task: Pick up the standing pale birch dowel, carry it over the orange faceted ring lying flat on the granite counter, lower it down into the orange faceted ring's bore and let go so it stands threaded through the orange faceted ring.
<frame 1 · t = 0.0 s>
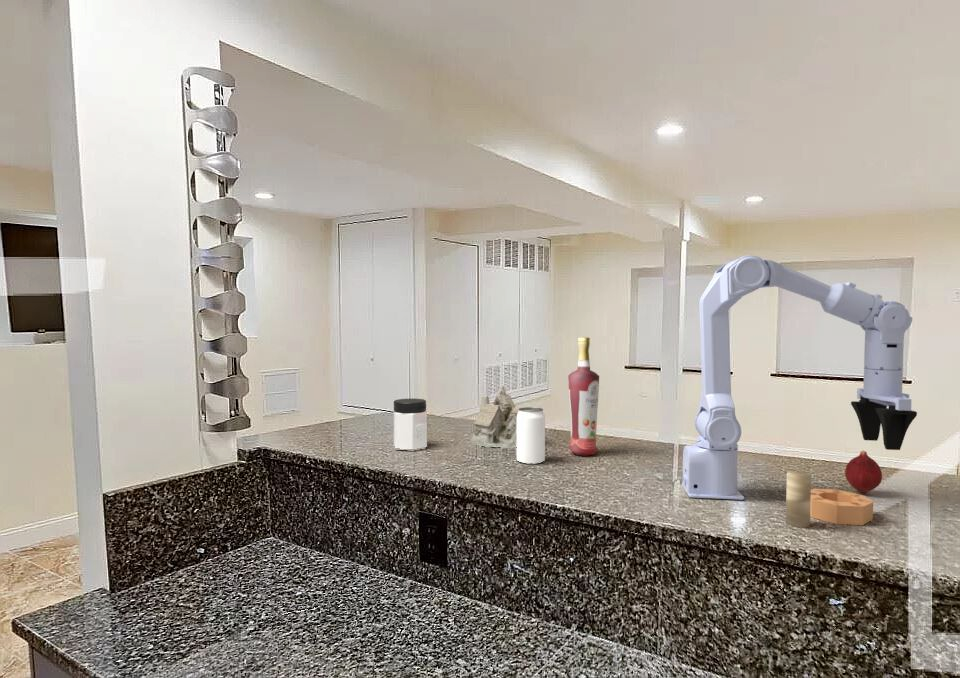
hand: (881, 444, 105), 10 cm above the counter, tool pointing down, fingers open, 7 cm apart
jar: (410, 448, 148), on the counter
dowel: (797, 524, 94), on the counter
ceramic cottage: (504, 444, 153), on the counter
orange faceted ring: (836, 515, 98), on the counter
onion: (862, 494, 110), on the counter
liquor: (583, 454, 141), on the counter
can: (530, 462, 134), on the counter
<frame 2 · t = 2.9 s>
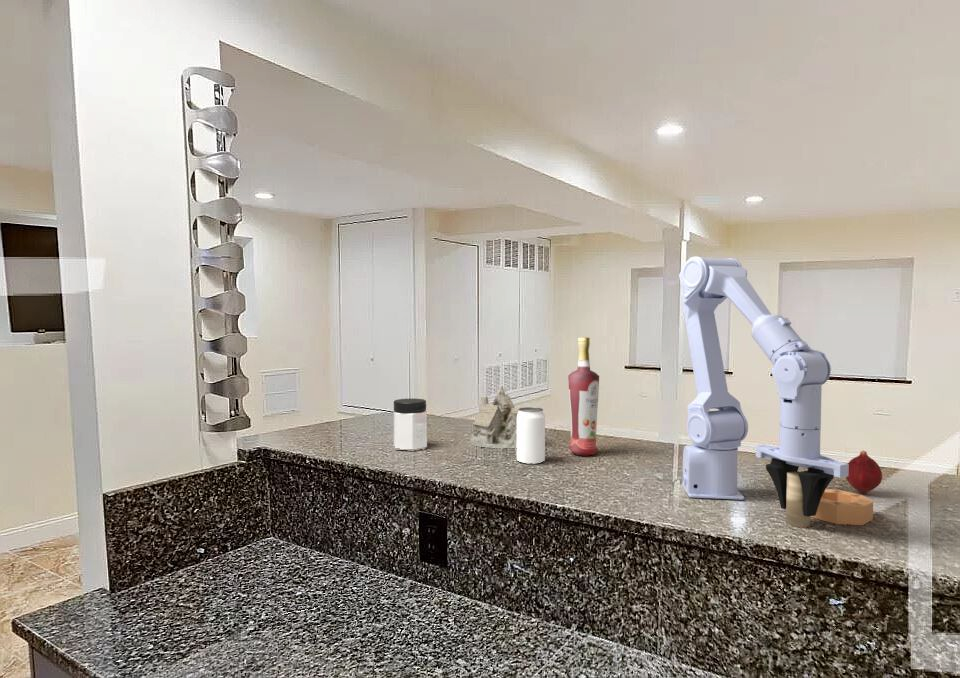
hand: (798, 511, 94), 2 cm above the counter, tool pointing down, fingers closed on dowel, 3 cm apart
dowel: (797, 524, 94), on the counter, touching gripper
when the fingers open (4 cm above the counter, at t = 6.1 s): dowel drops 1 cm, resting in orange faceted ring.
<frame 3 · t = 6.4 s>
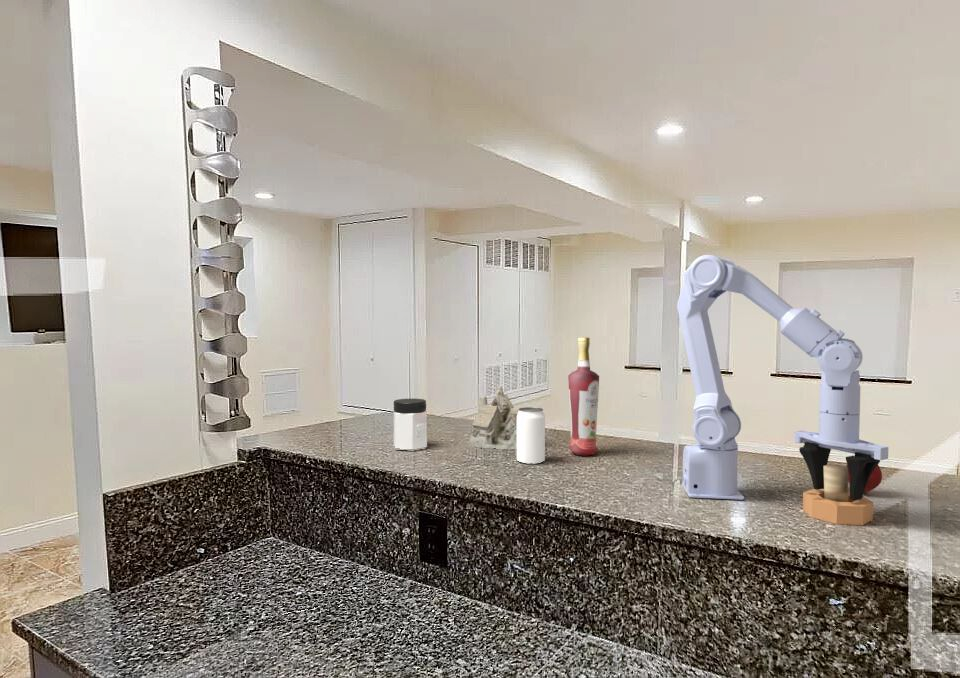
hand: (837, 493, 98), 4 cm above the counter, tool pointing down, fingers open, 6 cm apart
dowel: (836, 514, 98), resting in orange faceted ring
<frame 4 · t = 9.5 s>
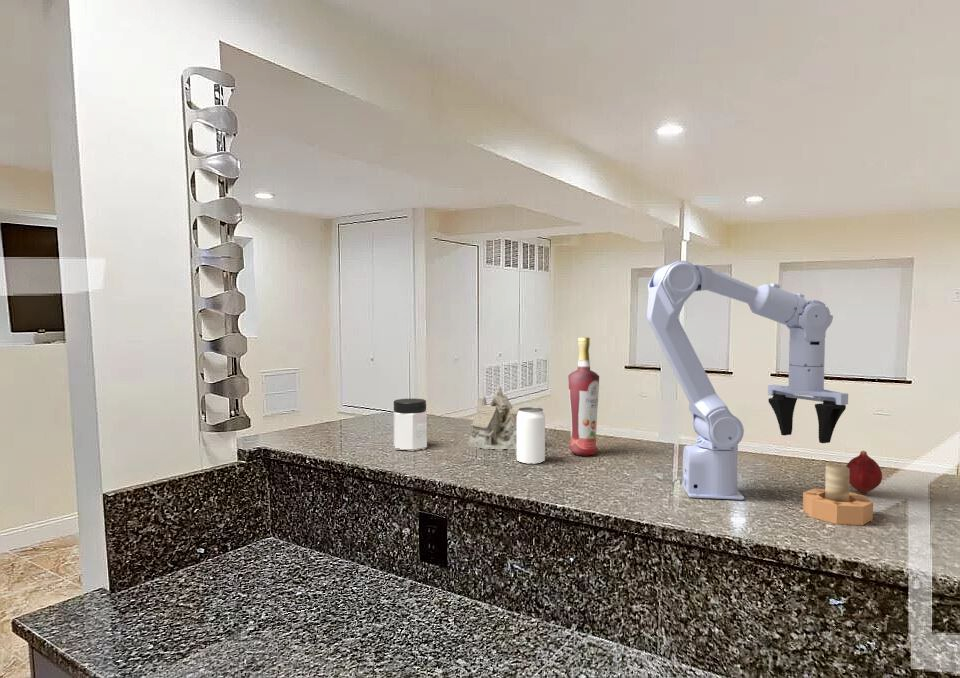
hand: (804, 438, 109), 10 cm above the counter, tool pointing down, fingers open, 7 cm apart
at the end: dowel 0.1 cm off-centre on the orange faceted ring, point 0.0 cm above the orange faceted ring's base; dowel tilted 1°; the gripper is holding nothing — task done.
